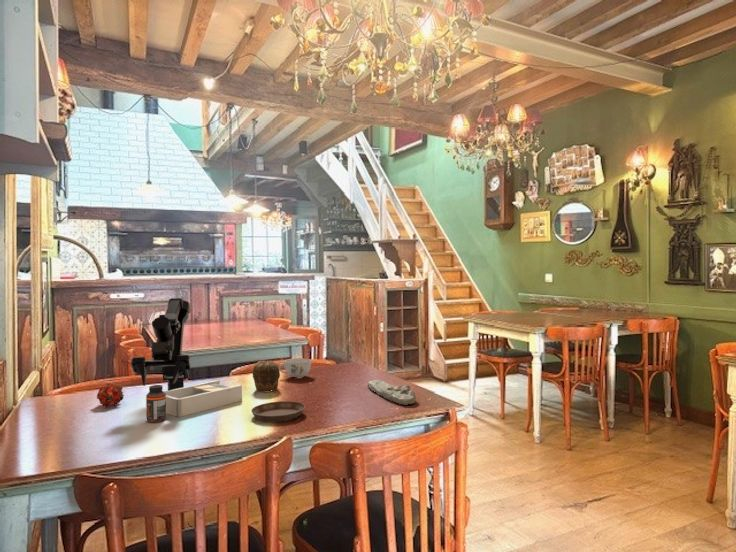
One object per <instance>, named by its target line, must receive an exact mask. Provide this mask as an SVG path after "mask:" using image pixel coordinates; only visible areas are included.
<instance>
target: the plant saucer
mask: <svg viewBox="0 0 736 552" xmlns="http://www.w3.org/2000/svg"><path fill="white" fill-rule="evenodd" d="M305 408H306V406H305V404H304V403H302V402H298V401H290V400H289V401H286V400H284V401H283V400H282V401H273V402H265V403H262V404H259V405H256V406H254V407H252V409H251V410H250V411H251V413H252V415H253V416H254V417H255V418H256V420H258V421H260V420H261V422H265V423H282V421H284V422H288V421H287V420H289V421H292V420H291V419H293V420H295V419H297V418H299V417H300V416H301V415H302V413H303V411H304V410H305ZM298 416H299V417H298ZM294 418H295V419H294Z"/></svg>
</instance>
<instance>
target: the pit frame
mask: <svg viewBox="0 0 736 552" xmlns="http://www.w3.org/2000/svg"><path fill="white" fill-rule="evenodd" d="M214 383H215V384H219V385H221V384H220V380H218V379H217V380H213V381H207V382H202V383H199V384H193V385H188V386H184V387H183V388H178V389H173V390H169V391H168V390H165V391H164V390H163V391H164V392H165V393H166V415H167V414H168V415H169V416H174V417H176V418H180V417H184V416H188V415H192V414H195V413H199V412H200V413H201V412H203V411H206V410H207V411H208V410H210V409H215V408H220V407H222V406H227V405H231V404H234V402H235V403H238V401H239V402H242V401H243V385H242V384H238V385H233V386H229V387H228V388H224V389H219V390H215V391H211V392H206V391H201V390H197V389H193V387H196V386H201V385H209V384H214ZM241 400H242V401H241Z"/></svg>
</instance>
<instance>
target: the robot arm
mask: <svg viewBox="0 0 736 552" xmlns="http://www.w3.org/2000/svg"><path fill="white" fill-rule="evenodd" d="M191 309H192V307H191V304H190V302H189V301H186V300H184V299H183V298H181V297H174V298H173V297H171V298H169V299H168V302H167V308H166V311H165V313H164V314H159V316H158V317H155V318H154V319H153V321H151V326H152V330H153V333H154V336H155V338H156V342H155V341H154V342H151V349H150V350H151V351H150V352H151V358H152V359H148V360H146V357H145V356H136V357H135V356H134V357H132V358H131V360H130V365H131V368H132V371H133V373H137V375H140V376H141V382H142V385H143V386H145V385H146V382H147V375H148V372H147V368H148V367H162V369H161V371H162V373H161V374H162V380H163V381H167V391H169V390H173V389H178V388H183V387H185V386H184V385H185V384H184V381H185V380H187V379H189V370H191V367H192V362H191V357H190V355H189V354H182V351H183V338H184V329H185V328H184V326H185V323H186V322H187V321H188V320H189V316H190V315H189V314H190V313H191Z"/></svg>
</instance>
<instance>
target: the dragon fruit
mask: <svg viewBox="0 0 736 552" xmlns="http://www.w3.org/2000/svg"><path fill="white" fill-rule="evenodd" d="M122 390H123V386H121V385H118V384H117V383H112V384H111V383H109V382H108V383H106V384H105V385H104V386H102V387H100V388H99V390H98V392H97V394H96V399H97V400H98V401H99V403H100V405H102V406H103V408H109V407H108V406H110V407H111V406H113V405H114V404H117V405H119V403H120V402H121V401H123V400H124V397H125V394H124V392H123V391H122ZM114 406H115V405H114Z"/></svg>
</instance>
